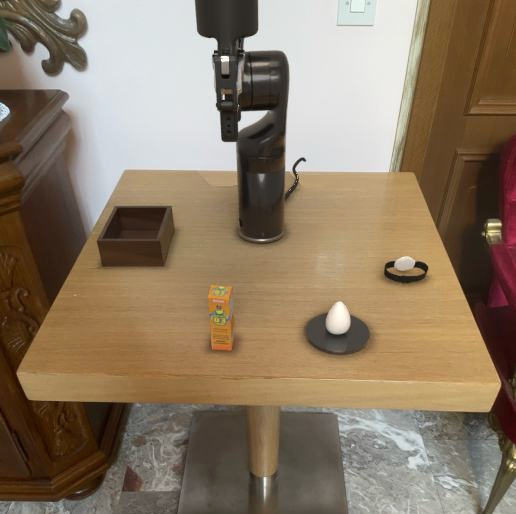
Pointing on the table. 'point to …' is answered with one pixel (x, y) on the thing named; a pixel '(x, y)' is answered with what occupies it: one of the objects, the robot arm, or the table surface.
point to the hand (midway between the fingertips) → (231, 130)
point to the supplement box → (221, 317)
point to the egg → (338, 319)
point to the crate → (136, 236)
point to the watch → (404, 265)
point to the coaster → (337, 336)
